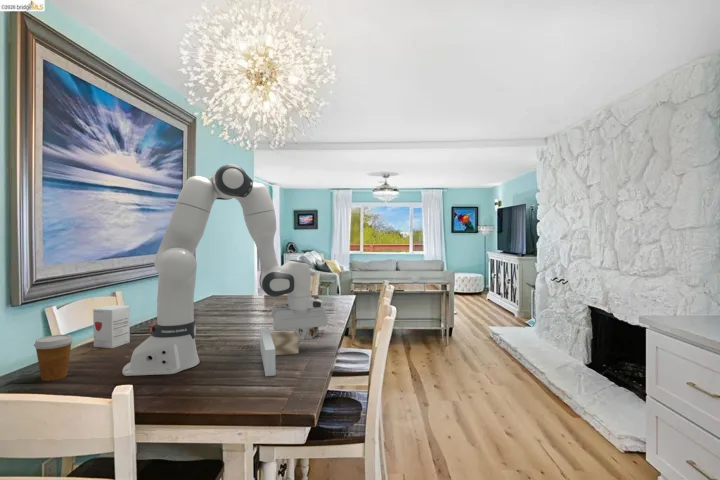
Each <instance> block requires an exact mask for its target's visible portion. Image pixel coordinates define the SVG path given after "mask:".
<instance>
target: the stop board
mask: <svg viewBox="0 0 720 480" xmlns="http://www.w3.org/2000/svg"><path fill="white" fill-rule="evenodd" d="M259 332H260V333H259V338H260V339H259V342H260V343H259V344H260V347H259V349H260V354H261V355H260V356H261V359H262V365H263V371H264V375H265V377H273V376H276V372H277V371H276V368H277V367H276V355H275V347H274V344H273V340H272V337H271V334H270V333H271V331H270V329H269V327H260V328H259Z"/></svg>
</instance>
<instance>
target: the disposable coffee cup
mask: <svg viewBox="0 0 720 480" xmlns="http://www.w3.org/2000/svg"><path fill="white" fill-rule="evenodd" d="M73 342H74V339H73V338H72V335H71V334H55V335H47V336H43V337H39V338H37V339H36V340H35V343H34V344H33V346H34V349H35V351H36V356H37V361H38V362H37V363H38V368H39V372H40V378H41V381H43V382H44V381H45V382H51V380H52V381H56V380H61V379H64V378H66V377H67V376H68V370H69V363H70V356H71V349H72V348H71V347H72V343H73Z"/></svg>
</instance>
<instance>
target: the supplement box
mask: <svg viewBox="0 0 720 480" xmlns="http://www.w3.org/2000/svg"><path fill="white" fill-rule="evenodd" d="M92 312H93V313H92V314H93V315H92V316H93V317H92V318H93V348H101V349H102V348H104V349H115V348H118V347H120V346H123V345H126V344H130V341H131V339H130V337H131V335H130V333H131V332H130V331H131V330H130V329H131V328H130V305H120V304H119V305H118V304H117V305H116V304H115V305H114V304H111V305H105V306H99V307H96V308H93V310H92Z"/></svg>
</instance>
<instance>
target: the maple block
mask: <svg viewBox="0 0 720 480" xmlns="http://www.w3.org/2000/svg"><path fill="white" fill-rule="evenodd" d="M270 334H271V337H272V340H273V344H274V347H275V356H283V355H294V354H299V353H300V352H299V350H300V349H299V341H298V335H297V334H296V332H295V330H292V331H291V330H289V331H288V330H287V331H275V332H270Z"/></svg>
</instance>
